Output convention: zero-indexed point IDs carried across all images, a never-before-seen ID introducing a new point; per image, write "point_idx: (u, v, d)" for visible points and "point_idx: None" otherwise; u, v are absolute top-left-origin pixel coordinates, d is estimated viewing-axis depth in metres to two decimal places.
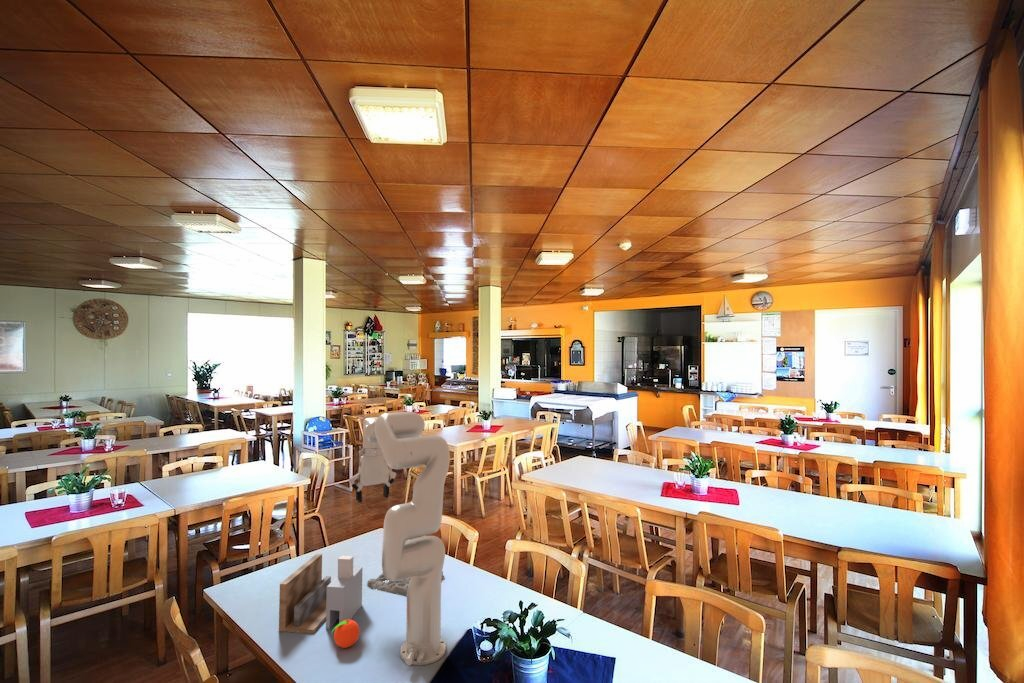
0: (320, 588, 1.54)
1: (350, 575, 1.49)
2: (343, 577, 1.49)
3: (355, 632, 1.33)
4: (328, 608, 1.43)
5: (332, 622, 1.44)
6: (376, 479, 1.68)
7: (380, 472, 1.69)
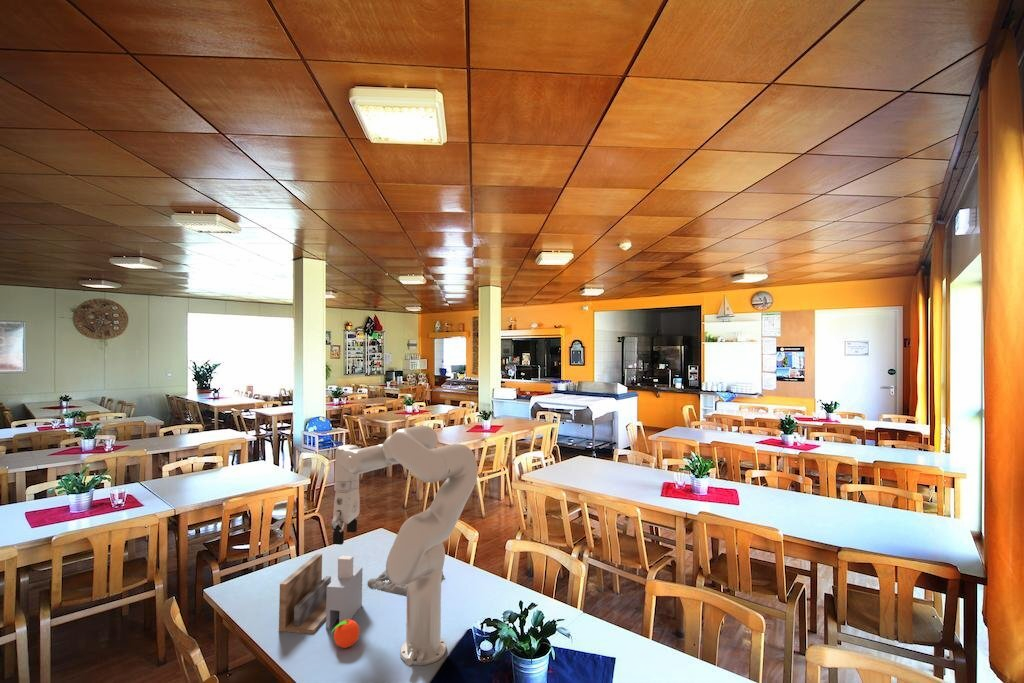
0: (320, 588, 1.54)
1: (350, 575, 1.49)
2: (343, 577, 1.49)
3: (355, 632, 1.33)
4: (328, 608, 1.43)
5: (332, 622, 1.44)
6: (354, 513, 1.51)
7: (356, 505, 1.52)
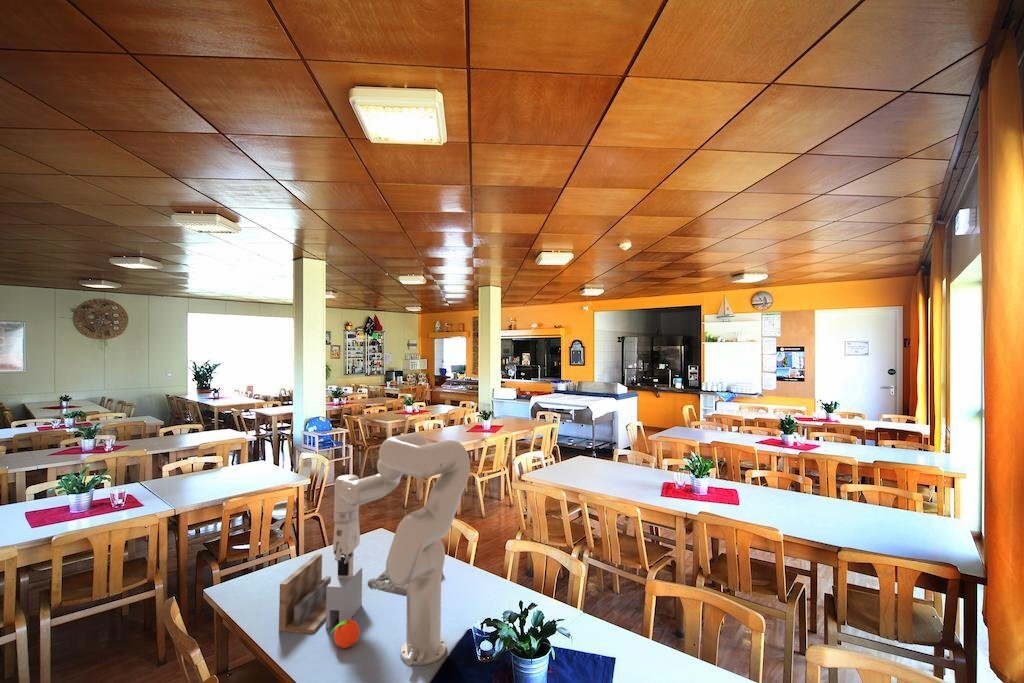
0: (320, 588, 1.54)
1: (350, 575, 1.49)
2: (343, 577, 1.49)
3: (355, 632, 1.33)
4: (328, 608, 1.43)
5: (332, 622, 1.44)
6: (354, 544, 1.50)
7: (356, 535, 1.52)
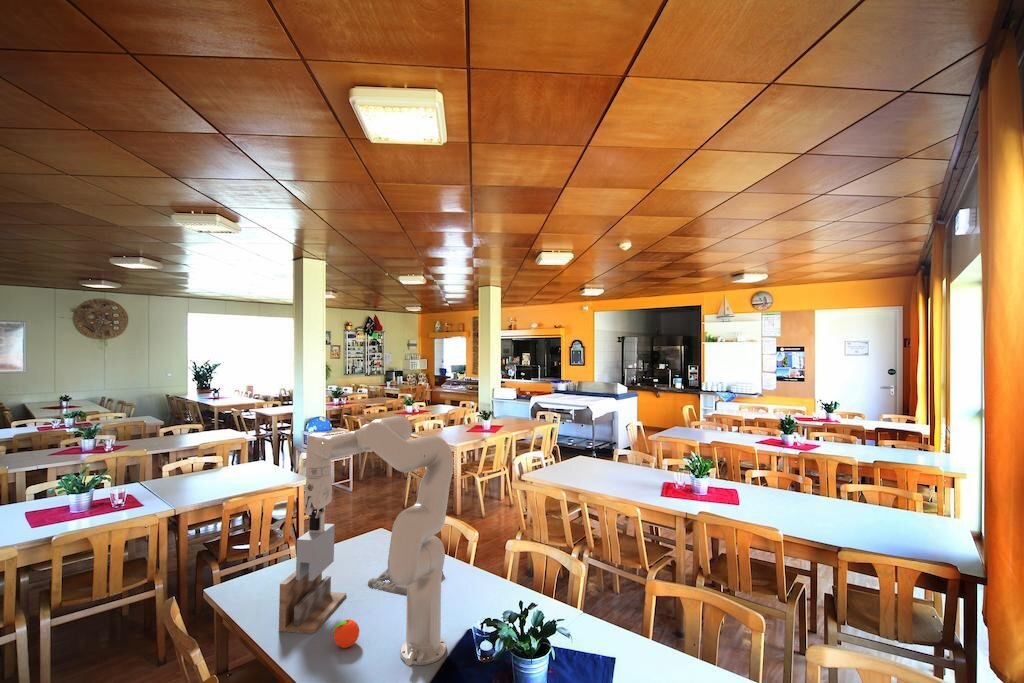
0: (320, 588, 1.54)
1: (321, 530, 1.52)
2: (314, 532, 1.51)
3: (355, 632, 1.33)
4: (298, 560, 1.45)
5: (302, 574, 1.47)
6: (326, 500, 1.53)
7: (328, 492, 1.54)
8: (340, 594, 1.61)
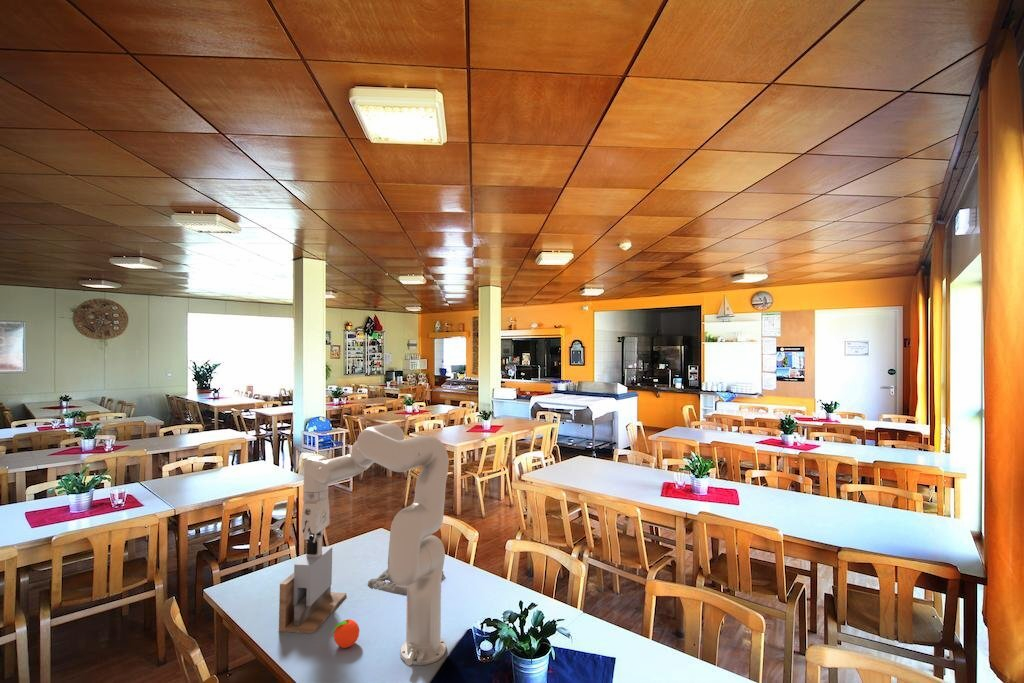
0: None
1: (319, 554, 1.51)
2: (312, 556, 1.51)
3: (355, 632, 1.33)
4: (296, 585, 1.45)
5: (300, 599, 1.47)
6: (323, 524, 1.52)
7: (326, 515, 1.54)
8: (340, 594, 1.61)
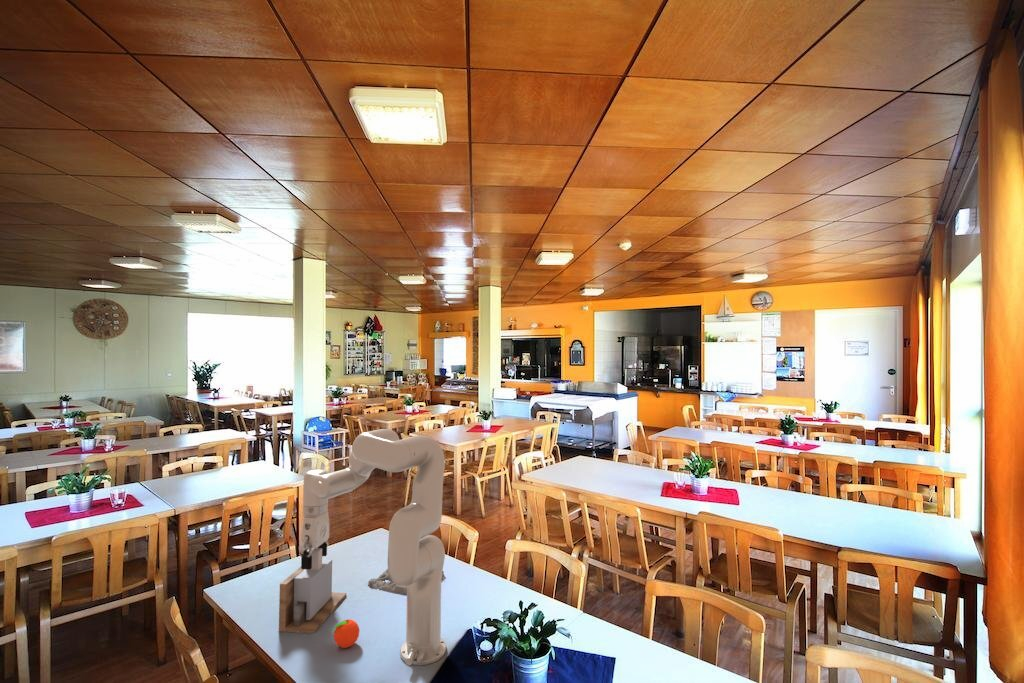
0: None
1: (318, 567, 1.51)
2: (311, 569, 1.51)
3: (355, 632, 1.33)
4: (295, 599, 1.45)
5: None
6: (323, 538, 1.52)
7: (325, 529, 1.54)
8: (340, 594, 1.61)
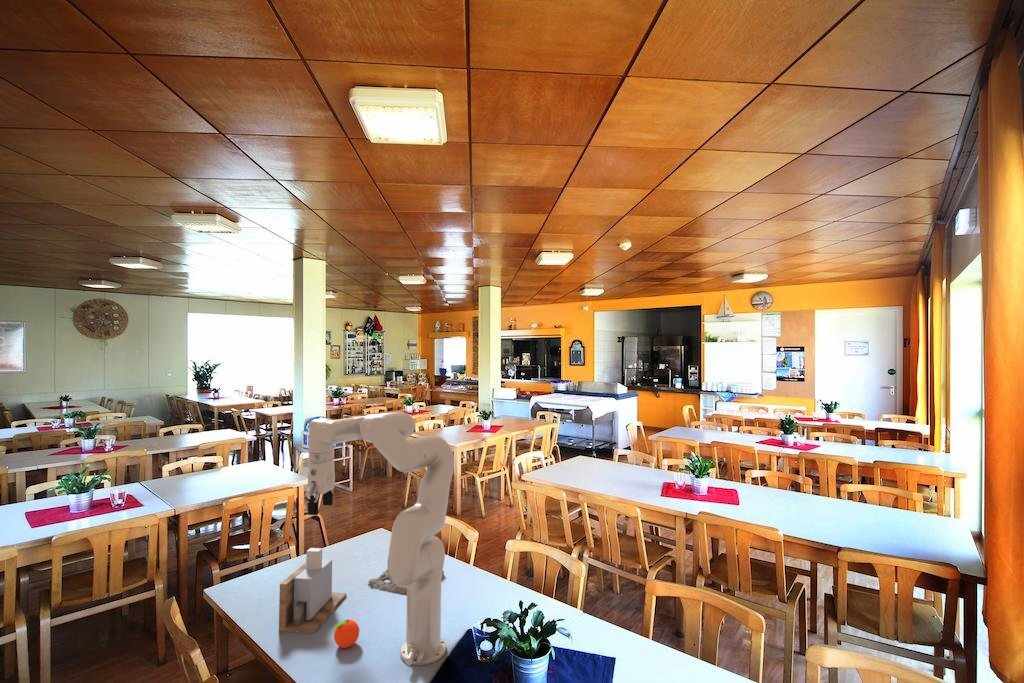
0: None
1: (318, 567, 1.51)
2: (311, 569, 1.51)
3: (355, 632, 1.33)
4: (295, 599, 1.45)
5: None
6: (329, 485, 1.53)
7: (331, 477, 1.55)
8: (340, 594, 1.61)
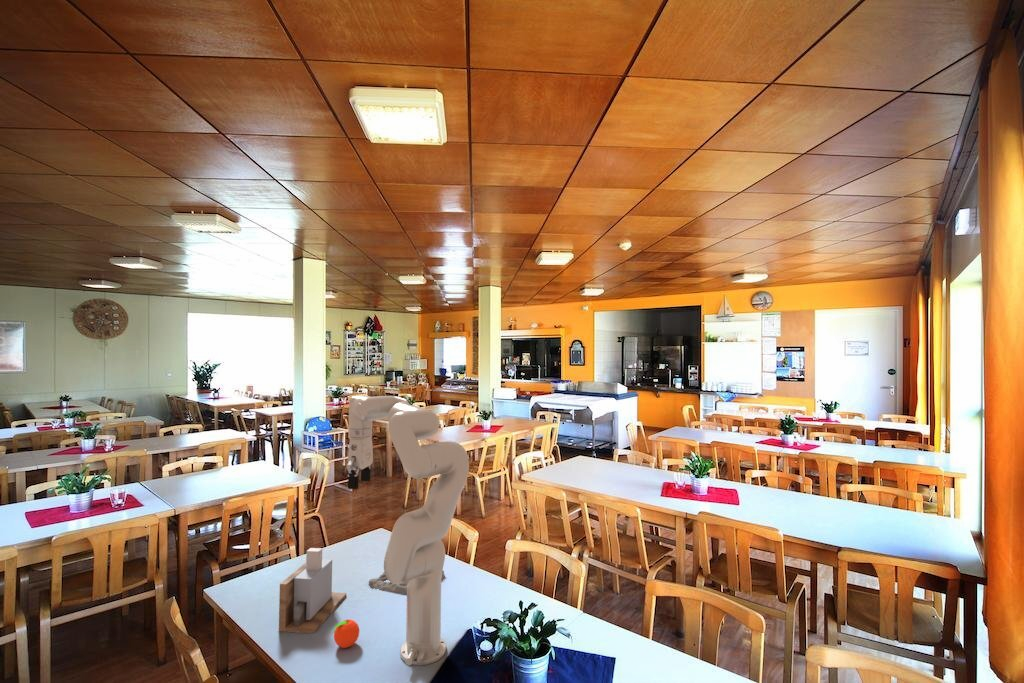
0: None
1: (318, 567, 1.51)
2: (311, 569, 1.51)
3: (355, 632, 1.33)
4: (295, 599, 1.45)
5: None
6: (368, 461, 1.56)
7: (370, 453, 1.57)
8: (340, 594, 1.61)
